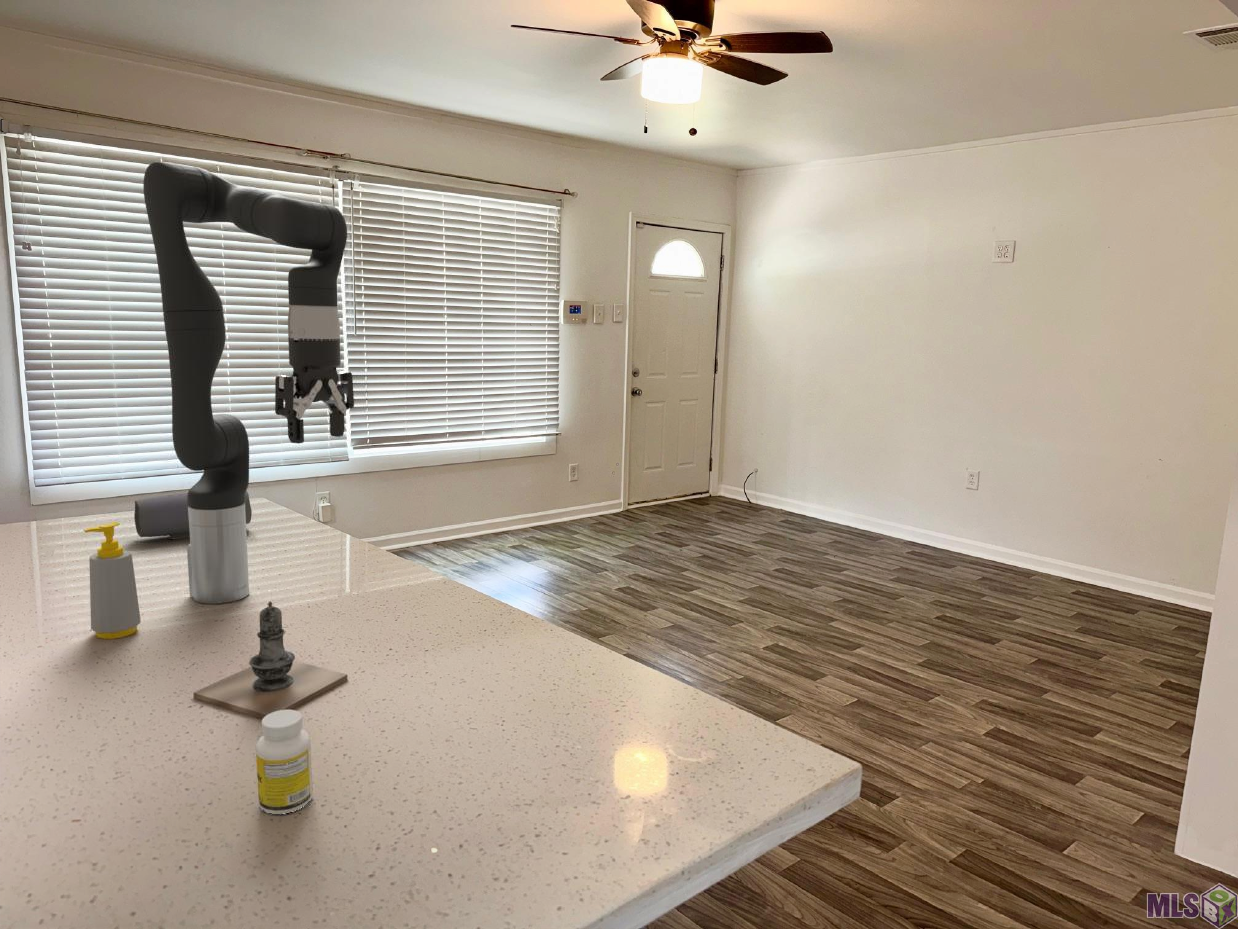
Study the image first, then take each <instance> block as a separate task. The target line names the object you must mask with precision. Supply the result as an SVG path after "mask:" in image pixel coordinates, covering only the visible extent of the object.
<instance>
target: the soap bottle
mask: <svg viewBox="0 0 1238 929" xmlns="http://www.w3.org/2000/svg"><path fill="white" fill-rule="evenodd" d="M119 525H120V522H118V521H117V522H112V523H109V524H104V525H99V526H93V527H88V528H86V529H84V530H83V531H84V532H85V533H93V532H94V533H95V532H96V533H103V536H104V537H105V540H103V541H101V543H100V545H101V547H98V548H97V552H95V553H92V554H91V555H90V556H89V561H88V562H89V593H90V594H89V597H90V598H89V599H90V600H89V601H90V604H89V605H90V629H91V630H92V631H93V632H94V633H95V636H96V637H97V638H99V639H104V640H113V639H121V638H123V637H128V636H129V635H133V634H134V633H136V631H137V629H138V625H140V624H141V622H142V621H141V618H142V617H141V614H140V612H141V611H140V606H139V599H138V589H137V583H136V575H135V568H134V562H133V554H132V552H131V551H130V550H126V549H124V547H123V546H122V545H119V541H118V540H117V539H114V535H115V527H118V526H119Z"/></svg>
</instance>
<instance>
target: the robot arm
mask: <svg viewBox="0 0 1238 929" xmlns="http://www.w3.org/2000/svg"><path fill="white" fill-rule="evenodd" d="M143 196H144V198H143V199H144V203H145V204H144V206H145V209H146V214H147V219H148V223H149V228H150V232H151V238H152V241H153V246H154V252H155V257H156V261H157V262H156V263H157V270H158V277H159V283H160V285H159V286H160V291H161V292H160V293H161V304H162V305H161V306H162V316H163V325H164V330H165V331H164V332H165V337H166V344H167V351H168V352H167V353H168V359H169V370H170V371H169V373H170V383H171V384H170V385H171V432H172V445H173V448H174V452H175V455H176V457H177V458H178V460H179V462H180V463H181V464H182V465H183V466H184V467H186V469H188V470H190V471H195V472H199V471H203V473H202V475H201V477H200V479H199V480H198V481H197V482H196V483H195V484H194V485H193V486H191V488H190V489H189V490H188V491H187V493H188V495H187V500H188V516H189V531H190V537H189V544H188V545H187V546H186V554H187V555H186V556H187V557H186V558H187V570H188V573H187V574H188V585H189V587H188V588H189V596H190V597H192V598H193V600H194V601H195V602H197V603H201V604H210V605H211V604H225V603H231V602H236V601H239V600H242V599H243V598H246V597H247V596H249V594H250V584H249V583H250V582H249V559H248V558H249V557H248V539H247V538H248V536H247V524H246V515H245V493H246V491H247V490H248V488H249V483H250V441H249V436H248V432H247V430H246V428H245V425H244V424H243V422H242V421H241V420H240V419H239V418H238V417H236V416H235V415H232V414H230V413H229V414H228V413H218V414H213V407H212V384H213V380H214V376H215V373H216V371H217V368H218V366H219V363H220V362H221V358H222V355H223V353H224V350H225V345H226V340H227V339H226V336H227V335H226V334H227V333H226V324H225V315H224V307H223V302H222V299H221V296H220V294H219V293H218V291H217V289H216V287H214V285H213V283H212V282H211V280H210V278H208V276H207V275H206V274H205V272H204V271H203V269H202V268H201V266H200V265H199V264H198V262H197V261H196V259H195V257H194V256H193V254H192V252H191V249H190V247H189V245H188V241H187V237H186V233H185V228H184V223H192V224H206V223H207V224H208V223H230V224H233V225H234V226H235V227H237V228H239V229H240V230H241V231H244V232H246V233H248V234H251V235H254V236H258V237H263V238H266V239H270V240H271V241H273V242H275V243H277V244H279V245H282V246H285V247H289V248H293V249H298V250H299V249H301V250H311V252H310V257H309V260H308V262H307V263H306V264H302V265H298V266H297V265H296V266H294V267H292V268H291V269H289V271H288V274H287V286H288V288H287V291H288V305H289V306H288V316H287V337H288V338H287V340H288V363H289V365H290V366H291V367H292V369H293V371H292V374H291V375H284V374H283V375H282V374H281V375H279V374H278V375H276V376H275V385H274V388H275V389H274V391H275V392H274V393H275V394H274V397H275V398H274V399H275V400H274V402H275V403H274V414H276V415H277V416H282V417H284V418H286V421H287V437H288V439H289V442H290V443H291V444H303V443H304V442H305V432H304V429H305V428H304V418H303V416H304V414H305V412H306V410H307V409H308V408H310V407H311V405H312V404H313V403H318V402H323V404H325V405H326V406H327V408H328V410H329V412H330V413H329V434H330V436H331V437H335V438H336V437H337V438H340V437H343V436H344V435H345V434H344V432H345V414H346V412H347V410H349V409H353V408H354V407H355V397H354V382H353V381H354V380H353V373H352V372H351V371H341V370H337V368H339V367H340V366H341V331H340V330H341V328H340V327H341V326H340V325H341V324H340V317H339V310H338V284H337V282H338V278H339V272H340V269H341V266H342V262H343V256H344V253H345V248H346V246H347V240H348V226H347V222H346V220H345V217H344V215H343V213H342V212H341V211H340V210H339V209H338V208H337V207H335V206H334V205H331V204H328V203H327V204H326V203H319V202H314V201H308V200H302V199H297V198H296V199H295V198H291V197H287V196H286V195H285V196H284V195H282V194H279V193H277V192H271V191H268V190H263V189H258V188H253V187H247V186H240V185H239V184H238V185H237V184H235V183H232V182H230V181H229V180H226V179H224V178H223V177H220V176H219V175H217V174H215V173H213V172H212V171H209V170H207V169H204V168H202V167H198V166H192V165H185V164H179V163H174V162H167V161H154V162H151V163H150V164H149V165H148V166H147V167H146V169H145V172H144V175H143ZM345 395H346V396H345ZM345 397H346V398H345Z"/></svg>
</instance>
